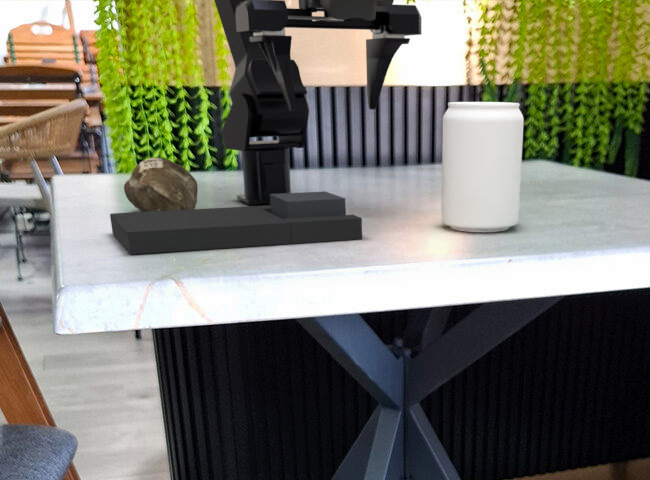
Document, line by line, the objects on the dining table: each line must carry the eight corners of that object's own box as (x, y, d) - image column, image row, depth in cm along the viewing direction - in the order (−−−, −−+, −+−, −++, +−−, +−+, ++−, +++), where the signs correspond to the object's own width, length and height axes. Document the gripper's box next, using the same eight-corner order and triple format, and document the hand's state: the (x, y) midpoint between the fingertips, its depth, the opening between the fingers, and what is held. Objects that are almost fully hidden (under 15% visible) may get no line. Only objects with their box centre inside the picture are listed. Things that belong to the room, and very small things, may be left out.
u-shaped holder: (112, 234, 89) (109, 213, 88) (322, 221, 97) (321, 202, 96) (130, 255, 79) (127, 231, 78) (362, 239, 87) (362, 217, 87)
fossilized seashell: (123, 186, 104) (111, 213, 96) (147, 135, 102) (136, 158, 93) (184, 219, 107) (177, 248, 99) (208, 170, 105) (203, 196, 97)
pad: (271, 229, 92) (269, 193, 91) (327, 225, 95) (325, 191, 93) (288, 238, 87) (286, 201, 86) (346, 234, 90) (345, 198, 88)
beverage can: (460, 235, 90) (463, 104, 84) (429, 223, 96) (430, 101, 91) (531, 231, 92) (539, 104, 87) (496, 219, 99) (501, 101, 94)
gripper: (257, -76, 80) (269, 114, 87) (445, -63, 87) (442, 111, 94) (228, -61, 89) (241, 109, 96) (400, -51, 96) (400, 108, 103)
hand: (332, 109), depth 97 cm, fingers open, 9 cm apart
